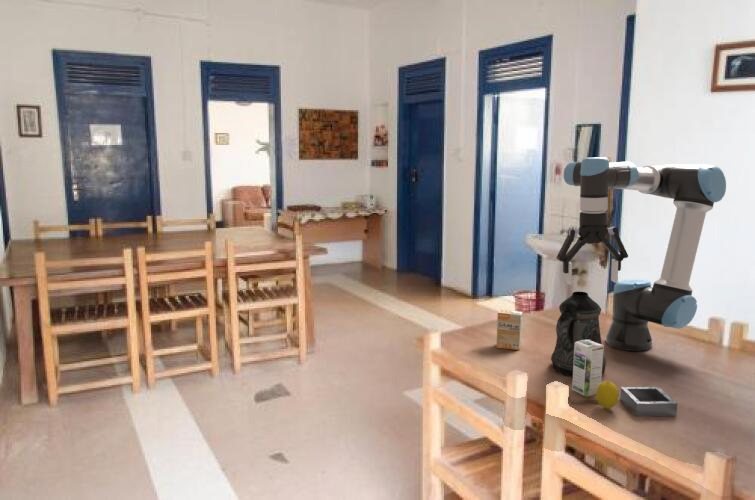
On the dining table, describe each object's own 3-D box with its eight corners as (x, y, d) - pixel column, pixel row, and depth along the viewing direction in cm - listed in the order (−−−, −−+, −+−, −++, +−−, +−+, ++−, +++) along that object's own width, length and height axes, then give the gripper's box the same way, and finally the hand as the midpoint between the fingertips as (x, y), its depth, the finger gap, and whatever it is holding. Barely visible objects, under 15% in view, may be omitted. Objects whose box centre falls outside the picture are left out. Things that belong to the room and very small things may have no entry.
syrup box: (571, 390, 163) (573, 341, 160) (586, 385, 165) (588, 338, 163) (586, 397, 158) (589, 347, 155) (601, 393, 160) (604, 344, 158)
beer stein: (604, 362, 186) (608, 288, 181) (607, 385, 168) (612, 304, 163) (551, 357, 191) (554, 285, 187) (549, 379, 173) (552, 300, 169)
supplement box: (495, 348, 201) (496, 312, 198) (498, 343, 205) (499, 308, 203) (519, 350, 197) (520, 314, 195) (521, 346, 202) (522, 310, 200)
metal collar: (657, 398, 159) (658, 386, 158) (676, 415, 148) (677, 403, 148) (620, 398, 159) (620, 387, 158) (636, 416, 149) (637, 403, 148)
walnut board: (597, 386, 167) (597, 383, 167) (612, 403, 156) (612, 399, 156) (559, 387, 167) (559, 384, 167) (571, 403, 156) (572, 400, 156)
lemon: (591, 405, 155) (593, 377, 154) (611, 404, 156) (613, 376, 154) (601, 414, 150) (603, 385, 149) (621, 413, 150) (623, 384, 149)
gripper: (630, 207, 168) (627, 277, 172) (546, 211, 168) (545, 281, 172) (642, 211, 161) (639, 283, 165) (554, 215, 160) (553, 287, 164)
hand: (591, 282), depth 168 cm, fingers open, 13 cm apart
